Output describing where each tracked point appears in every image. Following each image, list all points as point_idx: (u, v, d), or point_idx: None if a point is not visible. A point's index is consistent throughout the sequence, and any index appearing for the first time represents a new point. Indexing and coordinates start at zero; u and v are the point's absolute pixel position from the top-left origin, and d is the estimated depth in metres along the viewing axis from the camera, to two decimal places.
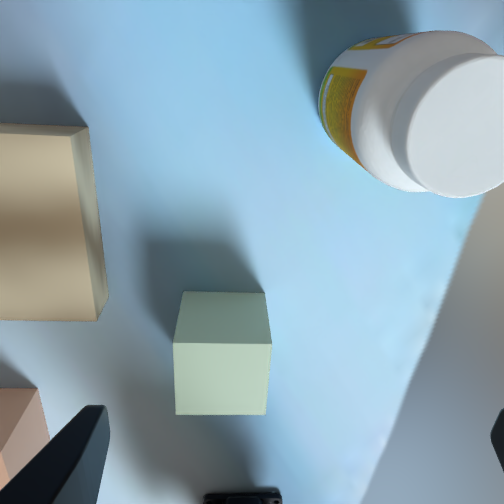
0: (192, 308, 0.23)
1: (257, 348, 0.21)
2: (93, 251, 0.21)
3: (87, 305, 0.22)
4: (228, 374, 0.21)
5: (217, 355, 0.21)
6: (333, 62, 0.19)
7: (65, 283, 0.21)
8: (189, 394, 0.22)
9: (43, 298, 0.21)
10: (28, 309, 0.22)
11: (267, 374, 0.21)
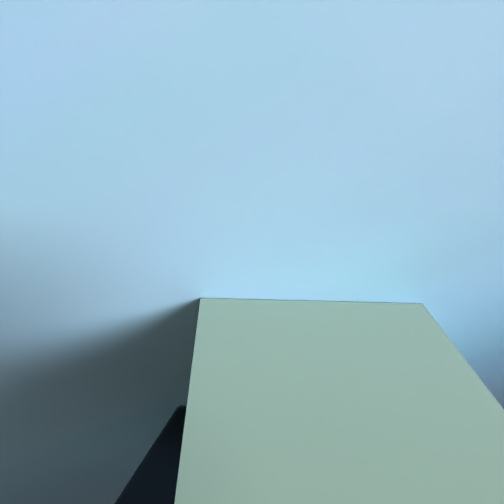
0: None
1: None
2: None
3: None
4: None
5: None
6: None
7: None
8: None
9: None
10: None
11: None
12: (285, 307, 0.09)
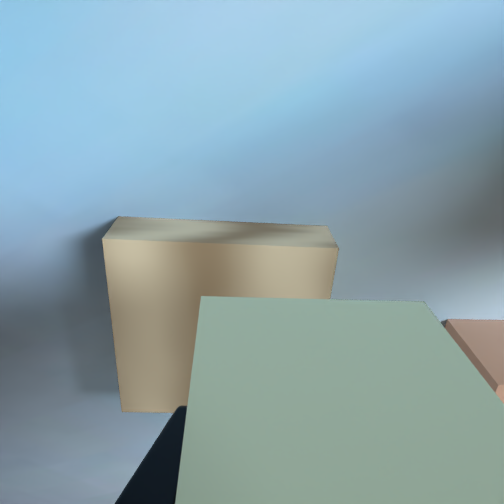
0: None
1: None
2: (248, 235, 0.18)
3: (313, 255, 0.17)
4: None
5: None
6: None
7: (280, 272, 0.18)
8: None
9: (299, 298, 0.18)
10: None
11: None
12: (286, 305, 0.09)
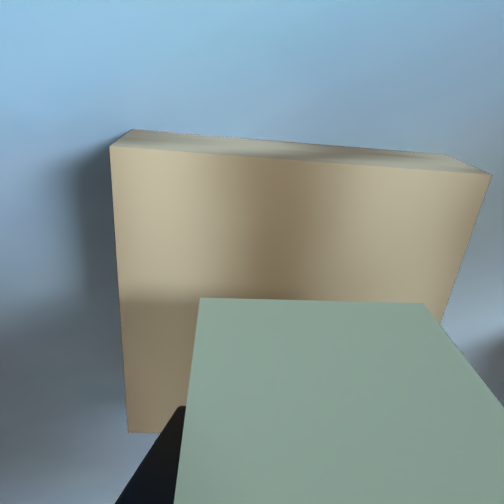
0: None
1: None
2: (342, 156, 0.11)
3: (450, 185, 0.11)
4: None
5: None
6: None
7: (394, 215, 0.11)
8: None
9: (415, 259, 0.12)
10: (429, 286, 0.12)
11: None
12: (285, 306, 0.09)
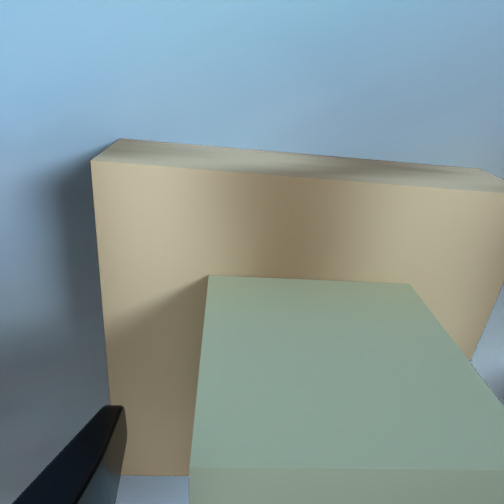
0: None
1: (211, 501, 0.06)
2: (363, 172, 0.10)
3: (491, 208, 0.09)
4: None
5: None
6: None
7: (423, 241, 0.10)
8: None
9: (446, 291, 0.10)
10: (460, 320, 0.11)
11: (341, 473, 0.05)
12: (285, 284, 0.10)
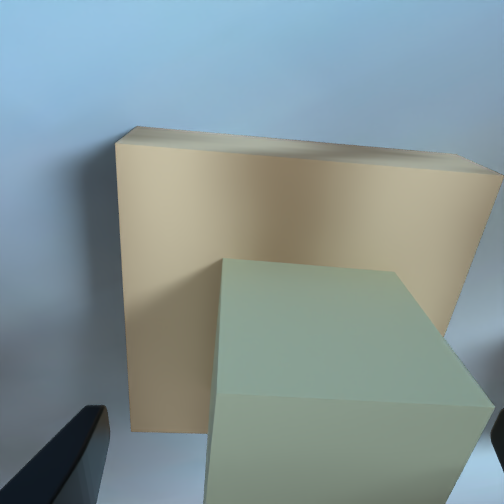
0: None
1: (230, 423, 0.07)
2: (351, 155, 0.11)
3: (462, 186, 0.11)
4: (314, 480, 0.08)
5: (243, 498, 0.08)
6: None
7: (403, 215, 0.11)
8: None
9: (424, 261, 0.12)
10: (438, 288, 0.12)
11: (332, 403, 0.07)
12: (288, 268, 0.11)
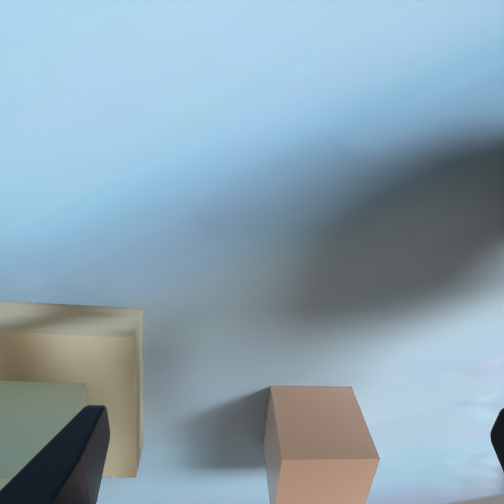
0: None
1: None
2: (55, 321, 0.19)
3: (110, 343, 0.19)
4: None
5: None
6: None
7: (82, 357, 0.19)
8: None
9: (105, 379, 0.20)
10: (119, 392, 0.20)
11: None
12: (16, 385, 0.19)
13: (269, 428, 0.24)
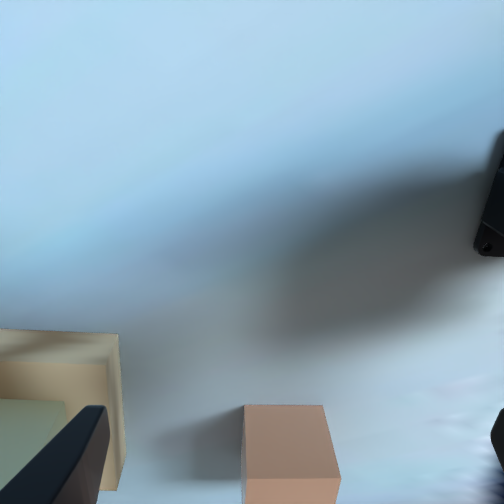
0: None
1: None
2: (34, 348, 0.21)
3: (84, 369, 0.20)
4: None
5: None
6: None
7: (59, 382, 0.21)
8: None
9: (81, 402, 0.21)
10: None
11: None
12: None
13: (243, 445, 0.25)
